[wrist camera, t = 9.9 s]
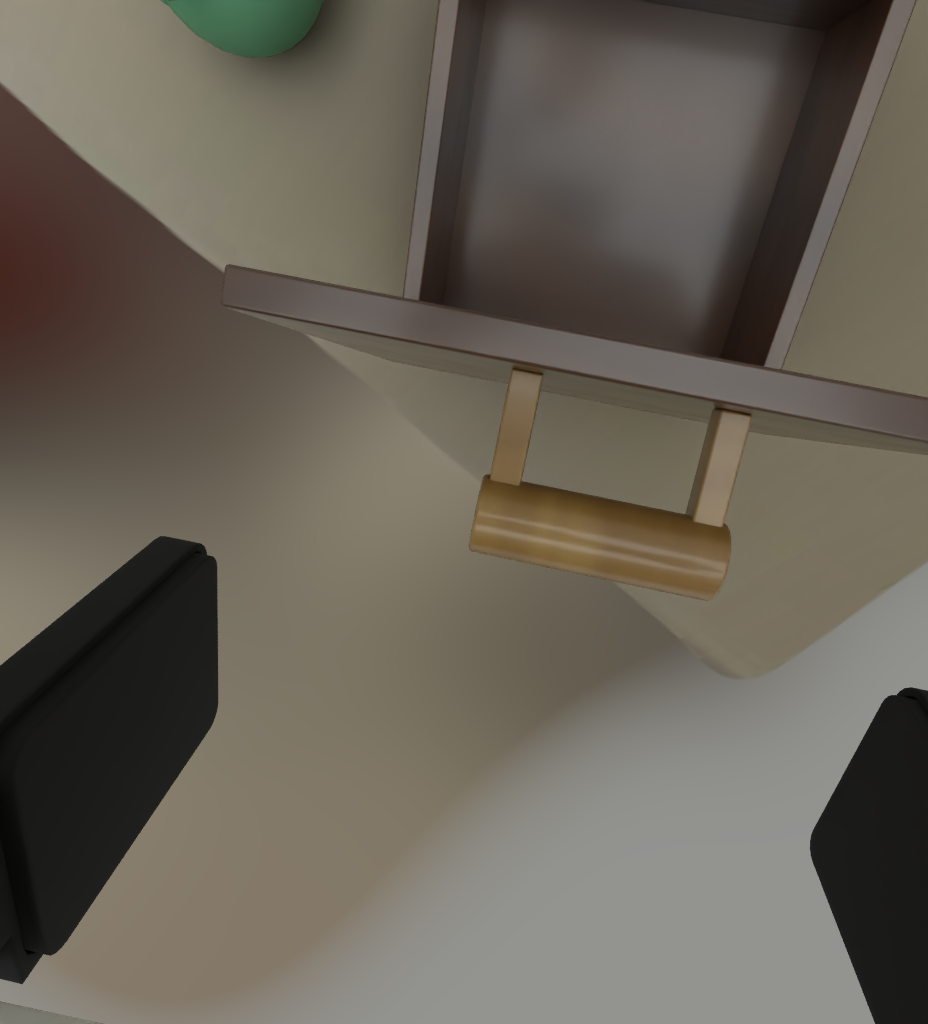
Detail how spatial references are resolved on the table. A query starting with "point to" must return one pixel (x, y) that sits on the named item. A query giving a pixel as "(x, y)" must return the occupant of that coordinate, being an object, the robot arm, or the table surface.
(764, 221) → the chest
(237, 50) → the alien toy
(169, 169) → the table surface
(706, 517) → the lid
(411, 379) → the table surface
